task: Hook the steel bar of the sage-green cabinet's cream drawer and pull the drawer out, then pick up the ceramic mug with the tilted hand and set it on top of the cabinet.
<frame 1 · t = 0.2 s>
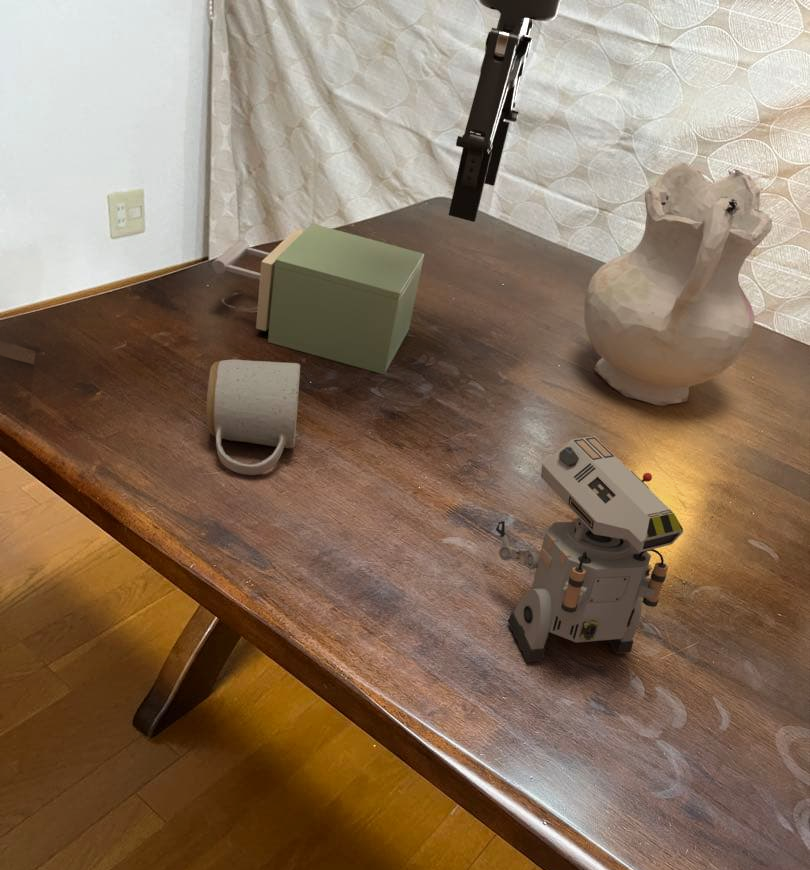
hand: (472, 199, 91), 18 cm above the table, tool pointing down, fingers open, 13 cm apart
drawer: (301, 284, 98), point 5 cm above the table, slide at 0.5 cm
ceramic mug: (253, 446, 80), on the table
ceramic pitcher: (642, 385, 106), on the table
figurine: (554, 623, 69), on the table
cabinet: (341, 335, 101), on the table
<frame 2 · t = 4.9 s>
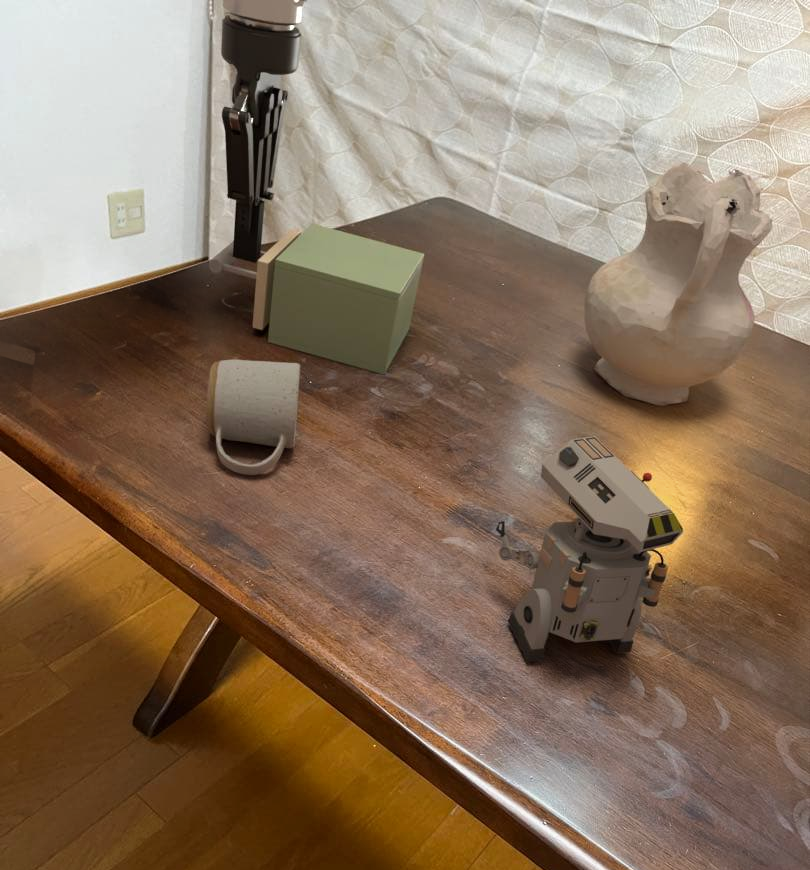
hand: (246, 257, 97), 6 cm above the table, tool pointing down, fingers closed
drawer: (298, 283, 98), point 5 cm above the table, slide at 0.9 cm, touching gripper
everything else where it was.
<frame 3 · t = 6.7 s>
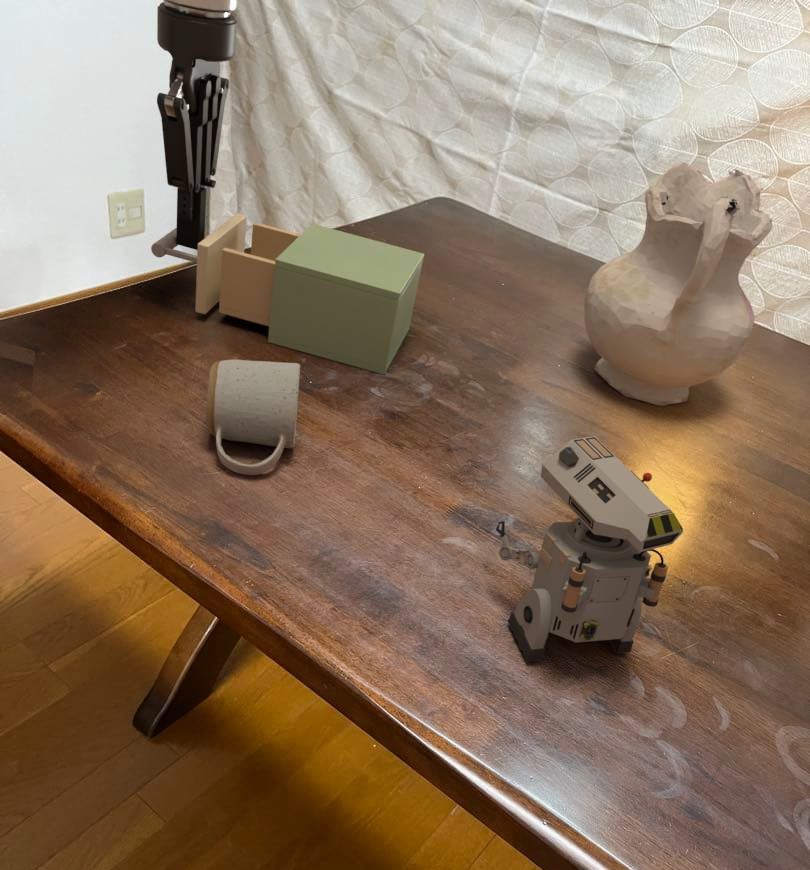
hand: (190, 245, 98), 6 cm above the table, tool pointing down, fingers closed
drawer: (242, 268, 98), point 5 cm above the table, slide at 7.6 cm
everything else where it was.
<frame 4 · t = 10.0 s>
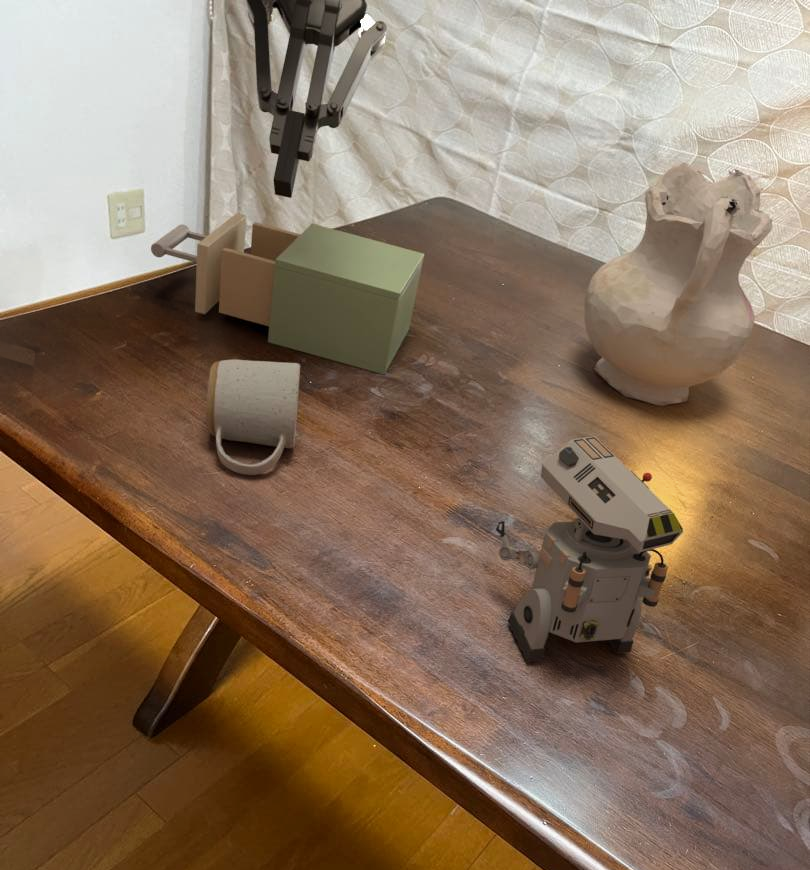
hand: (282, 188, 76), 20 cm above the table, tool tilted 45°, fingers closed
nothing on the table moved.
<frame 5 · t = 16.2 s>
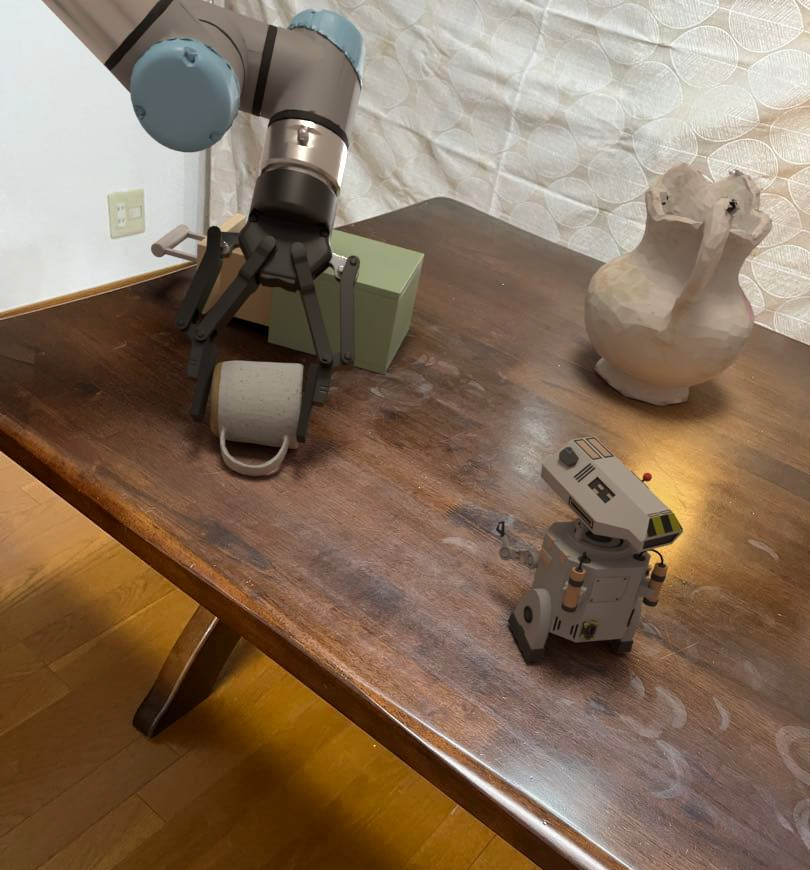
hand: (248, 428, 75), 4 cm above the table, tool tilted 45°, fingers closed on ceramic mug, 8 cm apart
ceramic mug: (257, 447, 80), on the table, touching gripper
everything else where it was.
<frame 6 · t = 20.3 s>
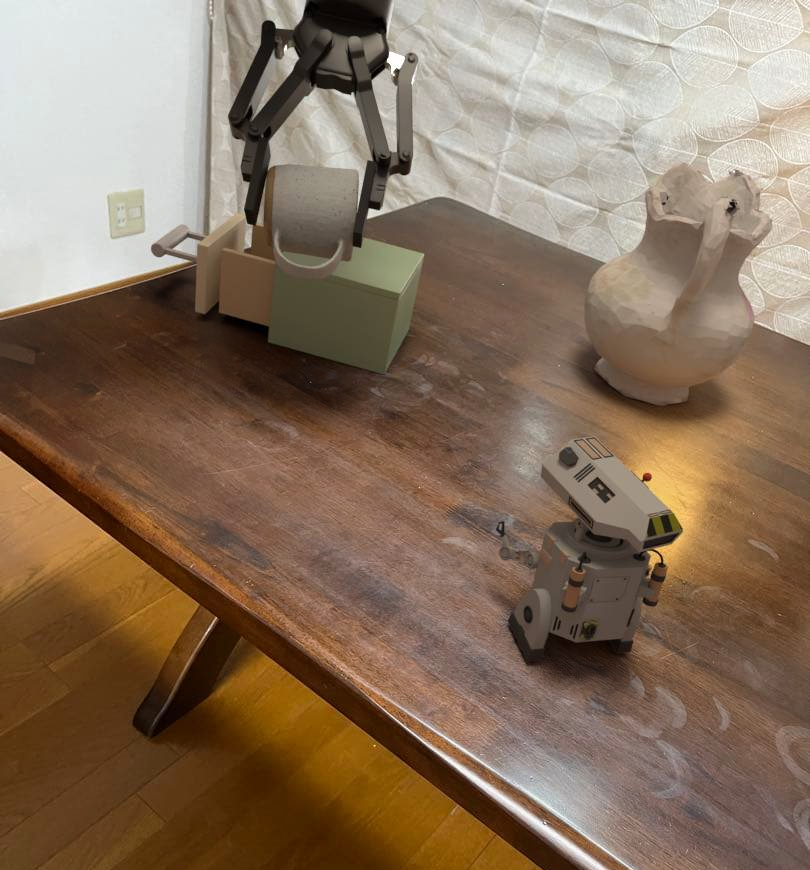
hand: (303, 228, 73), 19 cm above the table, tool tilted 45°, fingers closed on ceramic mug, 8 cm apart
ceramic mug: (309, 260, 78), point 15 cm above the table, touching gripper
everything else where it was.
when the fingers open (13 cm above the table, at t = 24.7 s): ceramic mug stays where it is, resting on cabinet.
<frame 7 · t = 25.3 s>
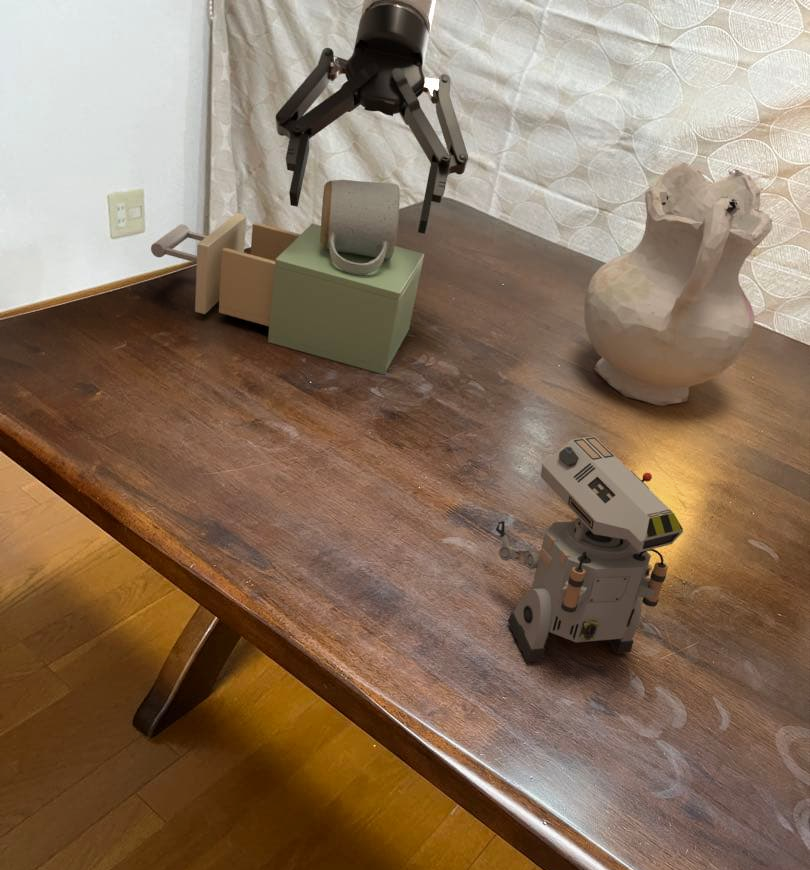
hand: (358, 214, 89), 15 cm above the table, tool tilted 45°, fingers open, 13 cm apart
ceramic mug: (357, 258, 95), point 9 cm above the table, touching cabinet
everything else where it was.
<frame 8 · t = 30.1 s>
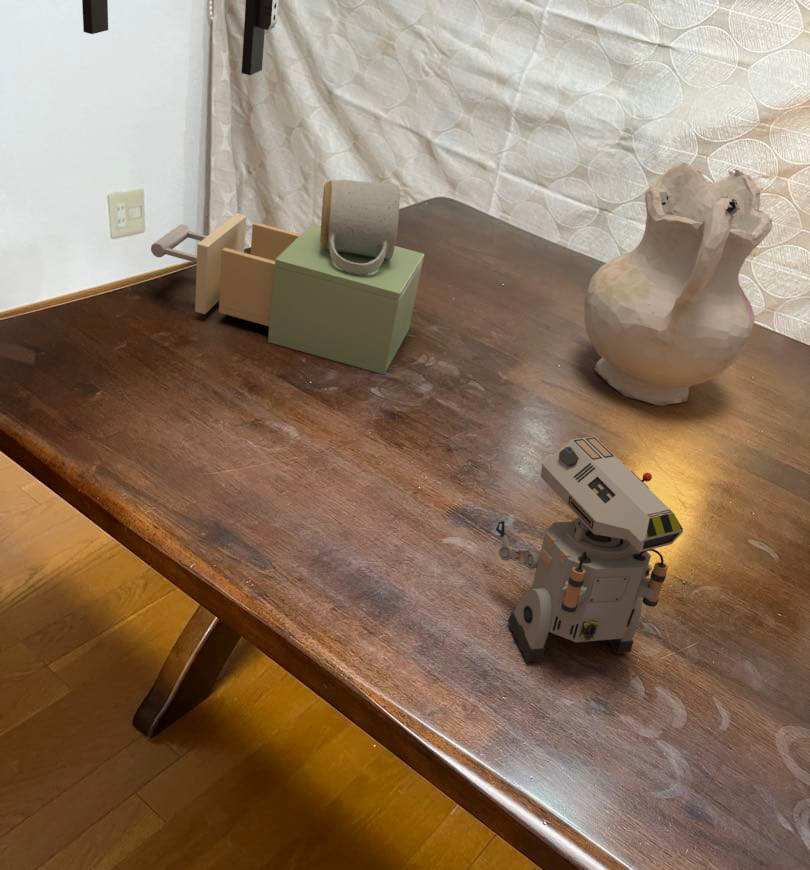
hand: (173, 51, 71), 29 cm above the table, tool pointing down, fingers open, 13 cm apart
nothing on the table moved.
at the end: drawer slide at 7.7 cm; ceramic mug inside the target area on the cabinet (0.4 cm from its centre), point 9.4 cm above the cabinet's base; ceramic mug tilted 0° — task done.
